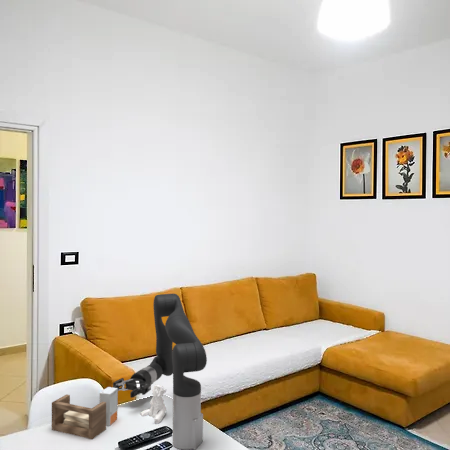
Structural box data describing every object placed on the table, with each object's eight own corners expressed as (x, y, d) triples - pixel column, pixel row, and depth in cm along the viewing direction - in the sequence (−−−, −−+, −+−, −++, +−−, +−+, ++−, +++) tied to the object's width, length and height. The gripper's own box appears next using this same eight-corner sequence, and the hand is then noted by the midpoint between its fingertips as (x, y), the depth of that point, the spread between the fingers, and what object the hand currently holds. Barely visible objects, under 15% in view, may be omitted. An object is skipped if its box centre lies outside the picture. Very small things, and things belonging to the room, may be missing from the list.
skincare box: (109, 427, 162) (109, 394, 161) (98, 426, 163) (99, 392, 162) (118, 420, 168) (118, 387, 167) (107, 418, 169) (107, 386, 168)
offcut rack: (106, 432, 159) (106, 402, 159) (92, 442, 152) (92, 411, 152) (66, 423, 166) (66, 394, 165) (51, 432, 159) (51, 402, 158)
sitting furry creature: (138, 417, 171) (138, 385, 170) (154, 409, 178) (154, 378, 177) (157, 424, 165) (157, 391, 165) (173, 415, 173) (173, 384, 172)
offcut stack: (99, 428, 160) (99, 414, 160) (90, 435, 155) (90, 421, 155) (71, 422, 164) (71, 409, 164) (61, 428, 159) (61, 414, 159)
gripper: (129, 367, 190) (105, 380, 175) (159, 371, 185) (138, 386, 170) (129, 384, 190) (105, 400, 175) (159, 390, 185) (137, 406, 170)
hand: (121, 393), depth 172 cm, fingers open, 8 cm apart
